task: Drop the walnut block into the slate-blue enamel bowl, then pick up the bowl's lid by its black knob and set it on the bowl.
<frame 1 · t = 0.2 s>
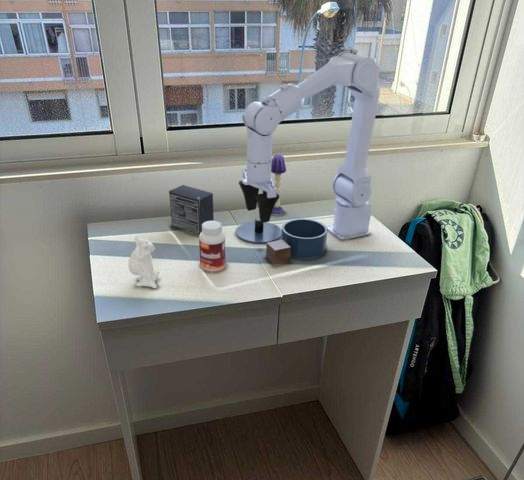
hand: (257, 215, 128), 10 cm above the table, tool pointing down, fingers open, 7 cm apart
block: (277, 261, 130), on the table
bowl: (302, 249, 136), on the table
toy lamp: (275, 213, 153), on the table
pill bottle: (213, 267, 127), on the table
lid: (259, 233, 141), point 1 cm above the table
small box: (193, 228, 144), on the table
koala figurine: (147, 283, 121), on the table
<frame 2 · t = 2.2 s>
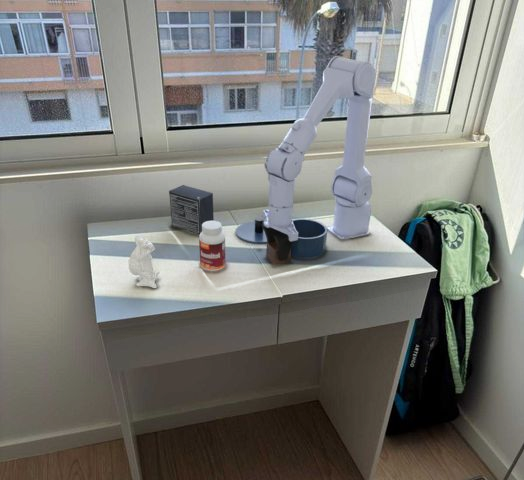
hand: (278, 255, 129), 2 cm above the table, tool pointing down, fingers closed on block, 4 cm apart
block: (277, 261, 130), on the table, touching gripper
everything else where it was.
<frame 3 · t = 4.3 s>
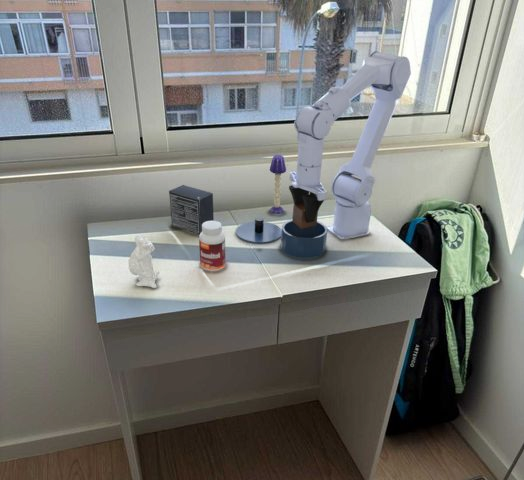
hand: (304, 217, 130), 9 cm above the table, tool pointing down, fingers closed on block, 4 cm apart
block: (304, 223, 131), point 7 cm above the table, touching gripper
everything else where it was.
when the fingers open (2 cm above the table, at t = 6.7 s): block stays where it is, resting on bowl.
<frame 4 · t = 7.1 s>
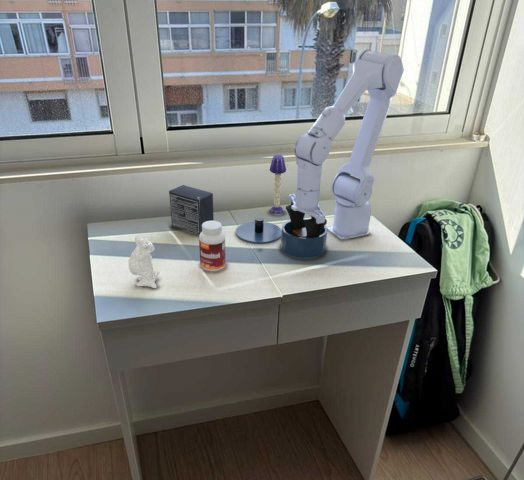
hand: (303, 238, 134), 3 cm above the table, tool pointing down, fingers open, 7 cm apart
block: (302, 247, 135), resting on bowl
everything else where it was.
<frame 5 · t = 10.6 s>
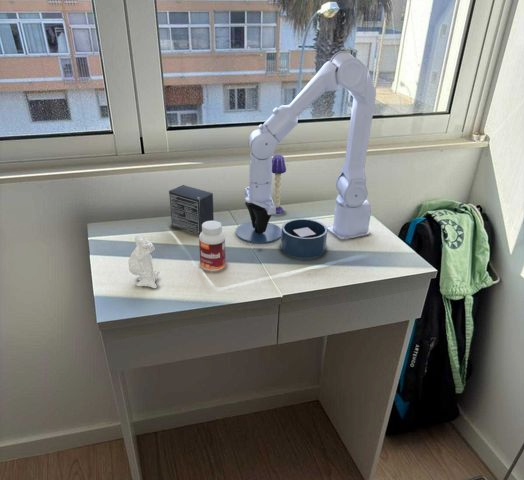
hand: (259, 229, 140), 2 cm above the table, tool pointing down, fingers closed on lid, 2 cm apart
lid: (259, 233, 141), point 1 cm above the table, touching gripper
everything else where it was.
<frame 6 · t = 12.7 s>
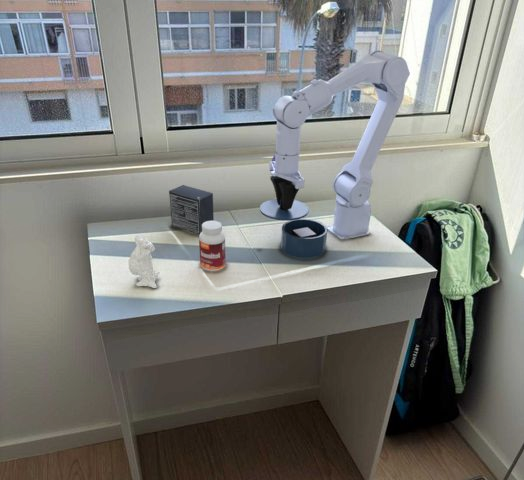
hand: (284, 206, 132), 10 cm above the table, tool pointing down, fingers closed on lid, 2 cm apart
lid: (284, 210, 133), point 9 cm above the table, touching gripper
everything else where it was.
when the fingers open (7 cm above the table, at t = 14.7 s): lid stays where it is, resting on bowl.
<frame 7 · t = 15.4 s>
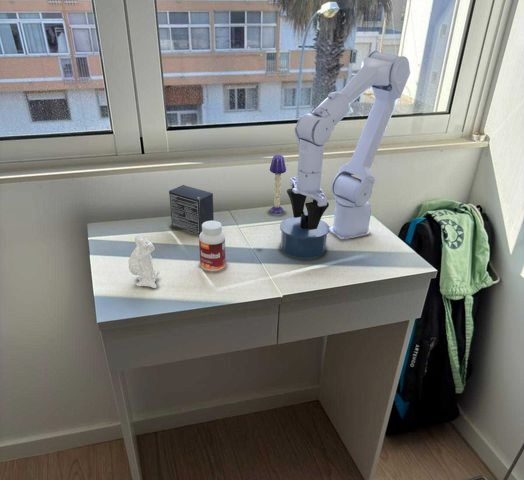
hand: (305, 222, 131), 7 cm above the table, tool pointing down, fingers open, 7 cm apart
lid: (304, 228, 132), point 6 cm above the table, touching bowl
everything else where it was.
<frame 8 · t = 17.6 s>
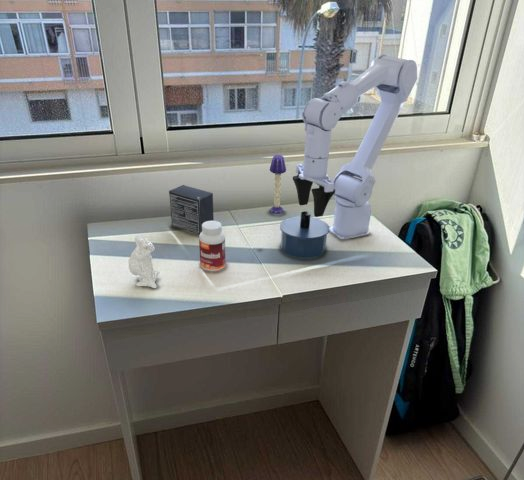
hand: (310, 210, 130), 10 cm above the table, tool pointing down, fingers open, 7 cm apart
nothing on the table moved.
at the end: block inside the target area in the bowl (0.0 cm from its centre), point 0.4 cm above the bowl's base; lid 0.0 cm off-centre on the bowl, point 5.9 cm above the bowl's base; lid tilted 0° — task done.
